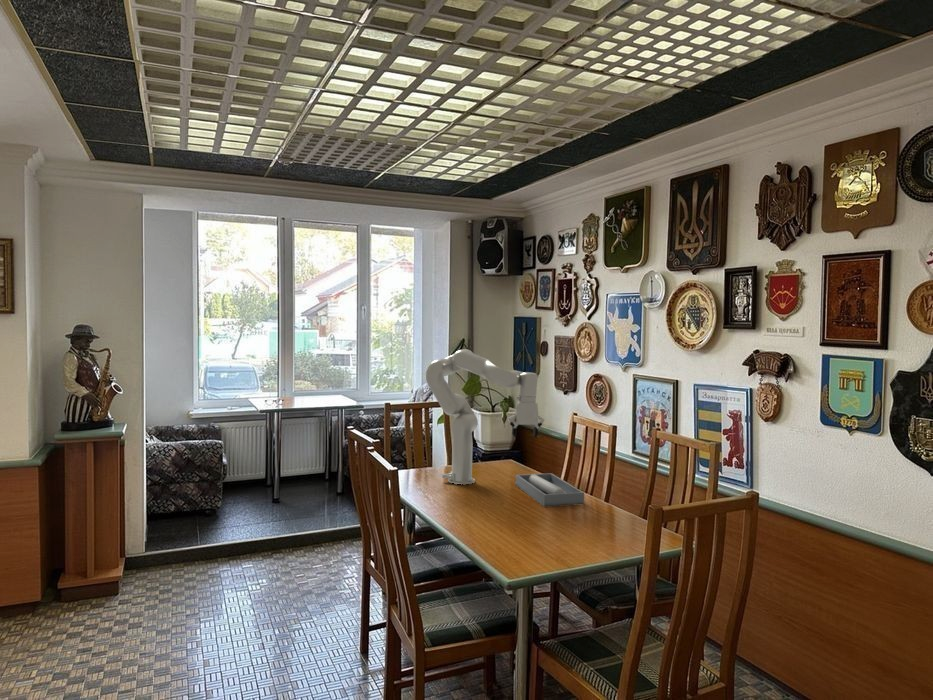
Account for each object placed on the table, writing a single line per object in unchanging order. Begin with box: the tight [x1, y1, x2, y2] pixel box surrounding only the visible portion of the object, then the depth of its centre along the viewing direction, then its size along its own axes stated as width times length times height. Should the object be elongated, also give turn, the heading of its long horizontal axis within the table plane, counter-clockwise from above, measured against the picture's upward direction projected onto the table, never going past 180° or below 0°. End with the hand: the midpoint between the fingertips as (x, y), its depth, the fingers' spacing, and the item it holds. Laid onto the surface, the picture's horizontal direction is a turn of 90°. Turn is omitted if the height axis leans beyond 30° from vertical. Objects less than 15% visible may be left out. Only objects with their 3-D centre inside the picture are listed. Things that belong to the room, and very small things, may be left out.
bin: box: [515, 472, 585, 508], centre depth 275 cm, size 18×34×5 cm, turn 16°
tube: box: [529, 473, 564, 494], centre depth 275 cm, size 5×5×25 cm
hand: (524, 436), depth 284 cm, fingers open, 9 cm apart
